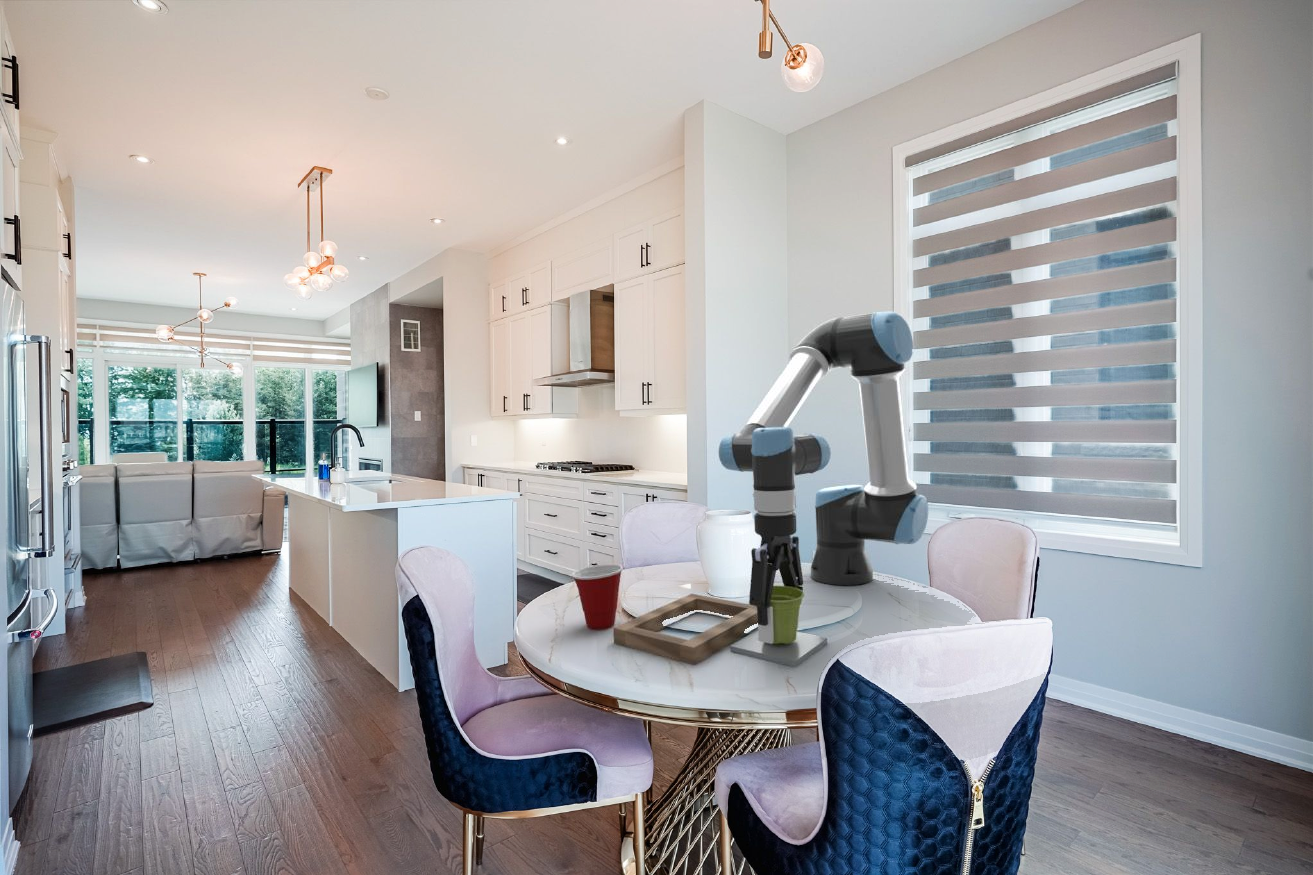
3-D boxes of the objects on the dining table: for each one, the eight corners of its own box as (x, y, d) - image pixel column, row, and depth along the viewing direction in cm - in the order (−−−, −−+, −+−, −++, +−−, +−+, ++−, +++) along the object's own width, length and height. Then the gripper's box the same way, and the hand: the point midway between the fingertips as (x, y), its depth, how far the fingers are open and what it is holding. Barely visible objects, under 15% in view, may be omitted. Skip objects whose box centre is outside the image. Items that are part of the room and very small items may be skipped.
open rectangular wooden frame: (692, 606, 145) (691, 593, 144) (767, 621, 133) (767, 607, 133) (613, 643, 124) (613, 627, 124) (694, 664, 112) (693, 647, 112)
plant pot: (815, 637, 119) (814, 590, 118) (786, 652, 112) (785, 603, 112) (772, 626, 126) (771, 582, 125) (743, 640, 119) (741, 594, 118)
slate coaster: (765, 630, 128) (765, 625, 128) (827, 643, 120) (827, 637, 120) (730, 651, 118) (730, 645, 118) (795, 666, 110) (795, 661, 110)
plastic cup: (583, 616, 141) (580, 561, 141) (631, 617, 139) (628, 562, 139) (566, 633, 131) (563, 574, 130) (617, 635, 128) (614, 575, 128)
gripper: (784, 502, 128) (787, 613, 129) (725, 520, 112) (729, 648, 113) (819, 504, 124) (823, 620, 125) (763, 523, 107) (768, 657, 108)
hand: (778, 633), depth 119 cm, fingers closed on plant pot, 9 cm apart
